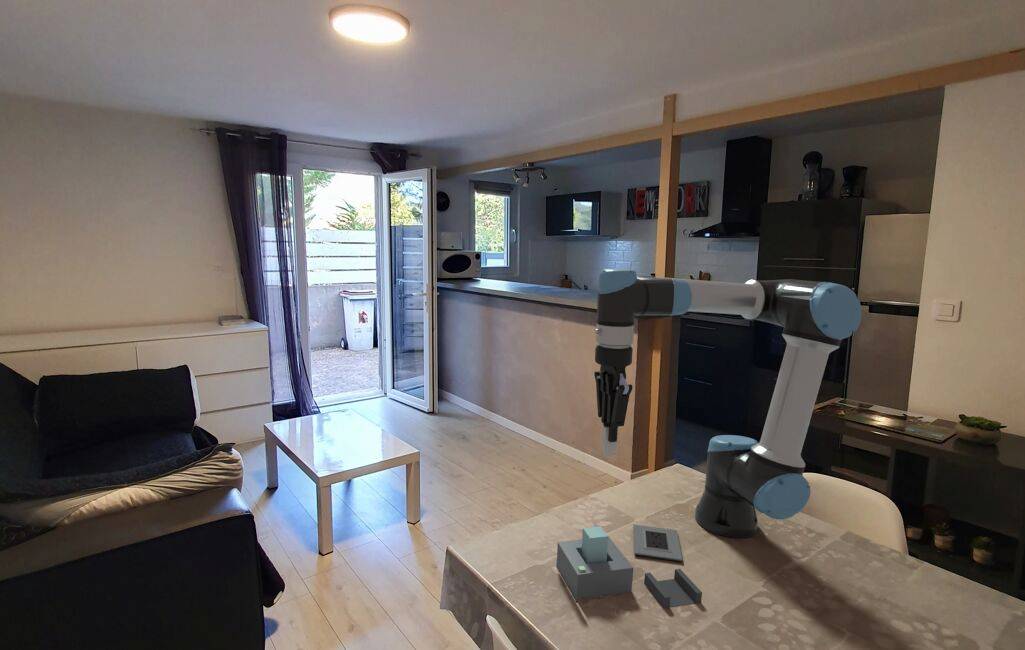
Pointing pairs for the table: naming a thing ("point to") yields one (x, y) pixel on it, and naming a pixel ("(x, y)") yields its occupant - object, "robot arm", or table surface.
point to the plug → (594, 545)
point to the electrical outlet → (656, 543)
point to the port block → (593, 571)
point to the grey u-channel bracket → (674, 590)
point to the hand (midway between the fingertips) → (608, 454)
